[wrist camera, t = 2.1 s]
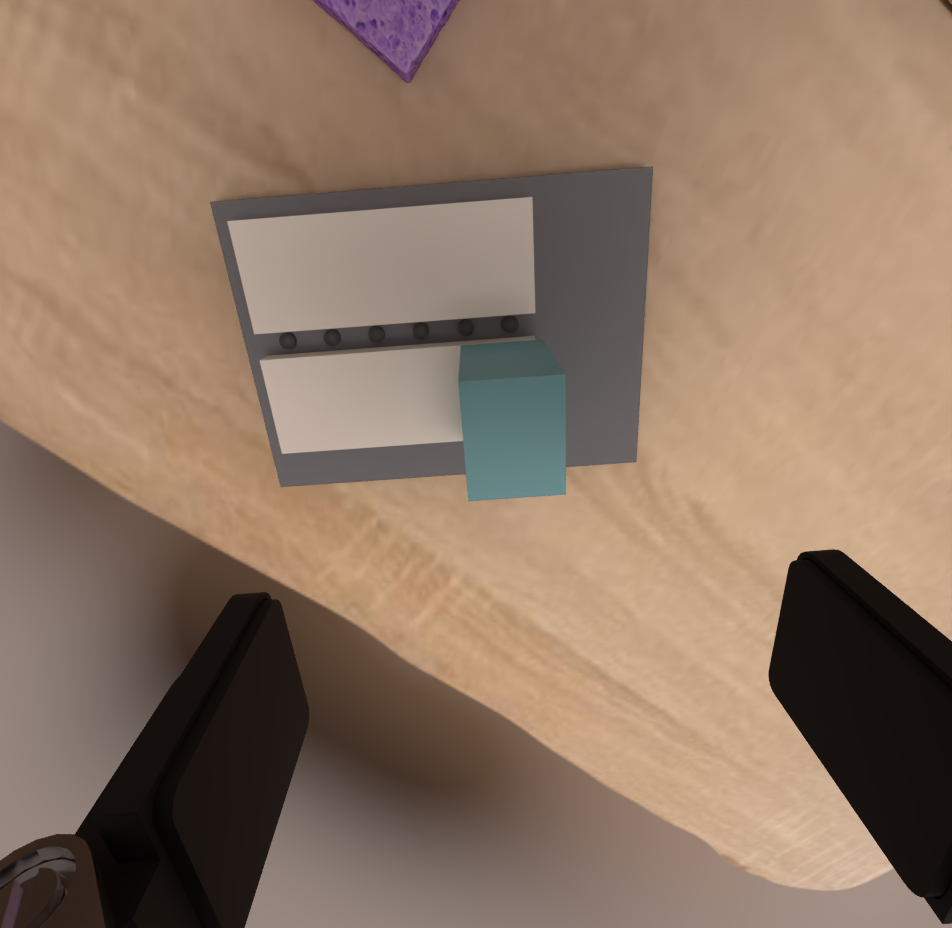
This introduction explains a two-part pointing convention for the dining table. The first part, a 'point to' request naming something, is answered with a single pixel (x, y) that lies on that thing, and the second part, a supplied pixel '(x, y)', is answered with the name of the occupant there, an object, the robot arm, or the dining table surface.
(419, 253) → the ticket
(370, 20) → the sponges
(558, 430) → the stub
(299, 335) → the mat
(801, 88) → the dining table surface
